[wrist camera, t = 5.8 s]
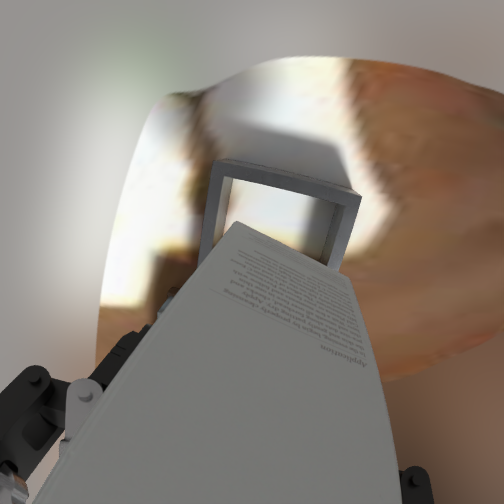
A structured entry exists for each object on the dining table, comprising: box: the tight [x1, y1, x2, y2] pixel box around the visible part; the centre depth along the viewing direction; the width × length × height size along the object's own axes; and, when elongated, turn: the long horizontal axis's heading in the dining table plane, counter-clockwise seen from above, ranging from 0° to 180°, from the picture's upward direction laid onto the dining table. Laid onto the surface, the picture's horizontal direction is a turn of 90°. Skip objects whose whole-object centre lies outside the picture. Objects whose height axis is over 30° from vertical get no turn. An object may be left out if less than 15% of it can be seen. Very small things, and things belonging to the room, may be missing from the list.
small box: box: [32, 221, 402, 504], centre depth 8 cm, size 8×6×13 cm
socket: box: [197, 159, 362, 272], centre depth 23 cm, size 11×12×4 cm
